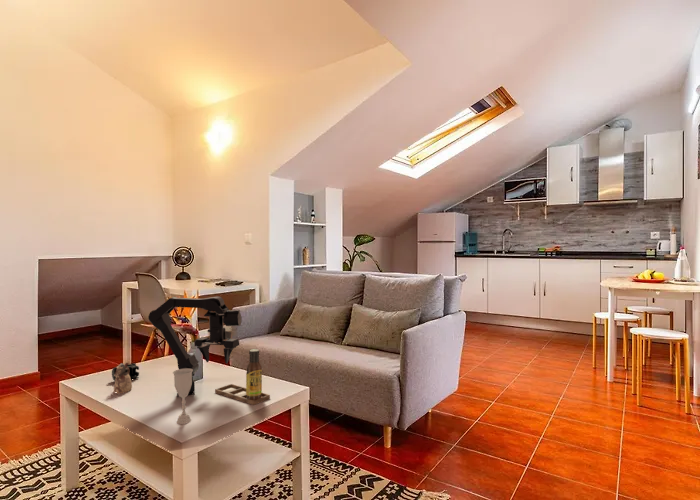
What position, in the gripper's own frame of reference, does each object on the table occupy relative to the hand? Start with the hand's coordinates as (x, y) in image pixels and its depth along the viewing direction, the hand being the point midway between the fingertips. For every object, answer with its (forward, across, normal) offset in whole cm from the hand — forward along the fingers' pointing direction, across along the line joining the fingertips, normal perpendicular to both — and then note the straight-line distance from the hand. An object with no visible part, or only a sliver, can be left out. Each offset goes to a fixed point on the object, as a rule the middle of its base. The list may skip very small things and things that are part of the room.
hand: (217, 362), depth 181 cm
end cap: (+13, +54, -6) cm, 56 cm away
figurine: (+13, +43, +7) cm, 46 cm away
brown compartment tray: (+13, -12, +1) cm, 18 cm away
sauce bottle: (+13, -19, +4) cm, 23 cm away
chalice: (+13, -5, +29) cm, 32 cm away
